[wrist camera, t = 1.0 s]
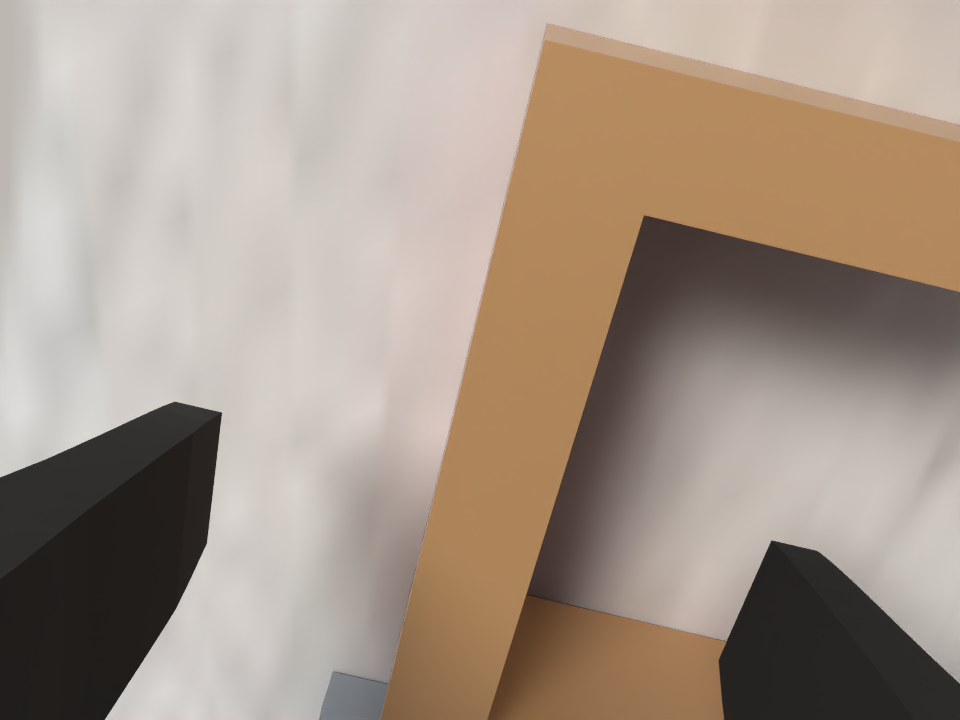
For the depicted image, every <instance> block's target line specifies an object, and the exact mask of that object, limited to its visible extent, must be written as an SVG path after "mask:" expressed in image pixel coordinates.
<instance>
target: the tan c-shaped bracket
mask: <svg viewBox="0 0 960 720" xmlns="http://www.w3.org/2000/svg"><path fill="white" fill-rule="evenodd" d="M644 215H646V216H650V217H654V218H658V219H662V220H666V221H670V222H674V223H679V224H683V225H687V226H691V227H695V228H699V229H703V230H707V231H711V232H716V233H720V234H724V235H728V236H732V237H736V238H740V239H744V240H748V241H753V242H757V243H761V244H765V245H769V246H773V247H777V248H781V249H785V250H790V251H794V252H798V253H802V254H806V255H810V256H814V257H818V258H822V259H827V260H831V261H835V262H839V263H843V264H847V265H851V266H855V267H859V268H864V269H868V270H872V271H876V272H880V273H884V274H888V275H892V276H896V277H901V278H905V279H909V280H913V281H917V282H921V283H925V284H929V285H934V286H938V287H942V288H946V289H950V290H954V291H958V292H960V125H956V124H952V123H948V122H944V121H939V120H935V119H931V118H927V117H923V116H919V115H915V114H911V113H907V112H903V111H899V110H895V109H891V108H887V107H883V106H879V105H875V104H871V103H867V102H863V101H859V100H854V99H850V98H846V97H842V96H838V95H834V94H830V93H826V92H822V91H818V90H814V89H810V88H806V87H802V86H798V85H794V84H790V83H786V82H782V81H778V80H774V79H769V78H765V77H761V76H757V75H753V74H749V73H745V72H741V71H737V70H733V69H729V68H725V67H721V66H717V65H713V64H709V63H705V62H701V61H697V60H693V59H689V58H684V57H680V56H676V55H672V54H668V53H664V52H660V51H656V50H652V49H648V48H644V47H640V46H636V45H632V44H628V43H624V42H620V41H616V40H612V39H608V38H604V37H599V36H595V35H591V34H587V33H583V32H579V31H575V30H571V29H567V28H563V27H559V26H555V25H551V24H547V26H546V30H545V34H544V39H543V43H542V47H541V51H540V55H539V59H538V64H537V68H536V72H535V76H534V80H533V84H532V88H531V93H530V97H529V101H528V105H527V109H526V113H525V118H524V122H523V126H522V130H521V134H520V138H519V142H518V147H517V151H516V155H515V159H514V163H513V167H512V172H511V176H510V180H509V184H508V188H507V192H506V196H505V201H504V205H503V209H502V213H501V217H500V221H499V226H498V230H497V234H496V238H495V242H494V246H493V250H492V255H491V259H490V263H489V267H488V271H487V275H486V280H485V284H484V288H483V292H482V296H481V300H480V304H479V309H478V313H477V317H476V321H475V325H474V329H473V334H472V338H471V342H470V346H469V350H468V354H467V358H466V363H465V367H464V371H463V375H462V379H461V383H460V388H459V392H458V396H457V400H456V404H455V408H454V412H453V417H452V421H451V425H450V429H449V433H448V437H447V442H446V446H445V450H444V454H443V458H442V462H441V466H440V471H439V475H438V479H437V483H436V487H435V491H434V496H433V500H432V504H431V508H430V512H429V516H428V520H427V525H426V529H425V533H424V537H423V541H422V545H421V550H420V554H419V558H418V562H417V566H416V570H415V574H414V579H413V583H412V587H411V591H410V595H409V599H408V604H407V608H406V612H405V616H404V620H403V624H402V628H401V633H400V637H399V641H398V645H397V650H396V654H395V658H394V663H393V667H392V671H391V675H390V680H389V684H388V688H387V692H386V697H385V701H384V705H383V710H382V714H381V718H380V720H724V714H723V706H722V696H721V684H720V672H719V658H720V656H721V653H722V651H723V649H724V647H725V644H726V641H721V640H717V639H713V638H708V637H704V636H700V635H696V634H691V633H687V632H683V631H678V630H674V629H670V628H666V627H661V626H657V625H653V624H649V623H644V622H640V621H636V620H631V619H627V618H623V617H619V616H614V615H610V614H606V613H601V612H597V611H593V610H589V609H584V608H580V607H576V606H571V605H567V604H563V603H559V602H554V601H550V600H546V599H542V598H537V597H533V596H529V595H526V594H527V590H528V587H529V584H530V581H531V578H532V574H533V571H534V568H535V565H536V561H537V558H538V555H539V552H540V549H541V545H542V542H543V539H544V536H545V532H546V529H547V526H548V523H549V520H550V516H551V513H552V510H553V507H554V503H555V500H556V497H557V494H558V491H559V487H560V484H561V481H562V478H563V474H564V471H565V468H566V465H567V462H568V458H569V455H570V452H571V449H572V446H573V442H574V439H575V436H576V433H577V429H578V426H579V423H580V420H581V417H582V413H583V410H584V407H585V404H586V400H587V397H588V394H589V391H590V388H591V384H592V381H593V378H594V375H595V371H596V368H597V365H598V362H599V359H600V355H601V352H602V349H603V346H604V342H605V339H606V336H607V333H608V330H609V326H610V323H611V320H612V317H613V313H614V310H615V307H616V304H617V301H618V297H619V294H620V291H621V288H622V284H623V281H624V278H625V275H626V272H627V268H628V265H629V262H630V259H631V255H632V252H633V249H634V246H635V243H636V239H637V236H638V233H639V230H640V226H641V223H642V220H643V217H644Z"/></svg>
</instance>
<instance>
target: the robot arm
mask: <svg viewBox="0 0 960 720" xmlns="http://www.w3.org/2000/svg"><path fill="white" fill-rule="evenodd" d="M221 416H222V413H221V412H217V411H213V410H208V409H204V408H200V407H195V406H191V405H187V404H182V403H178V402H173V403H170V404H168V405H165V406H163V407H160V408H158V409H156V410H153V411H151V412H149V413H147V414H144V415H142V416H140V417H138V418H136V419H134V420H132V421H129V422H127V423H125V424H123V425H121V426H119V427H117V428H114V429H112V430H110V431H108V432H106V433H104V434H101V435H99V436H97V437H95V438H93V439H90V440H88V441H86V442H84V443H81V444H79V445H77V446H75V447H73V448H70V449H68V450H66V451H64V452H62V453H59V454H57V455H55V456H53V457H50V458H48V459H46V460H43V461H41V462H38V463H36V464H33V465H31V466H28V467H26V468H23V469H21V470H18V471H16V472H13V473H11V474H8V475H6V476H3V477H1V478H0V720H105V718H106V717H107V715H108V714H109V712H110V711H111V709H112V708H113V706H114V705H115V703H116V702H117V700H118V698H119V697H120V695H121V694H122V692H123V691H124V689H125V688H126V686H127V685H128V683H129V681H130V680H131V678H132V677H133V675H134V674H135V672H136V671H137V669H138V668H139V666H140V665H141V663H142V661H143V660H144V658H145V657H146V655H147V654H148V652H149V651H150V649H151V647H152V646H153V644H154V643H155V641H156V640H157V638H158V636H159V635H160V633H161V632H162V630H163V629H164V627H165V625H166V624H167V622H168V621H169V619H170V617H171V616H172V614H173V613H174V611H175V609H176V607H177V605H178V603H179V601H180V599H181V597H182V595H183V593H184V591H185V589H186V587H187V585H188V583H189V581H190V579H191V577H192V574H193V572H194V570H195V568H196V566H197V563H198V561H199V559H200V557H201V555H202V553H203V550H204V548H205V546H206V544H207V537H208V529H209V520H210V511H211V503H212V494H213V485H214V477H215V468H216V459H217V451H218V442H219V433H220V425H221ZM719 672H720V684H721V696H722V706H723V714H724V720H960V684H959V683H958V682H957V681H956V680H955V679H954V678H953V677H952V676H951V675H950V674H949V673H947V672H946V671H945V670H944V669H943V668H942V667H941V666H940V665H939V664H938V663H937V662H936V661H935V660H934V659H933V658H932V657H930V656H929V655H928V654H927V653H926V652H925V651H924V650H923V649H922V648H921V647H920V646H919V645H918V644H917V643H916V642H915V641H914V640H913V639H912V638H911V637H910V636H909V635H908V634H907V633H905V632H904V631H903V630H902V629H901V628H900V627H899V626H898V625H897V624H896V623H895V622H894V621H893V620H892V619H891V618H890V617H889V616H888V615H887V614H886V613H885V612H884V611H883V610H882V609H881V608H880V607H879V606H878V605H877V604H876V603H875V602H874V601H873V600H871V599H870V598H869V597H868V596H867V595H866V594H865V593H864V592H863V591H862V590H861V589H860V588H859V587H858V586H857V585H856V584H855V583H854V582H853V581H852V580H850V579H849V578H848V577H847V576H846V575H845V574H844V573H843V572H842V571H841V570H840V569H838V568H837V567H836V566H835V565H834V564H833V563H832V562H830V561H829V560H828V559H827V558H826V557H824V556H823V555H822V554H821V553H819V552H818V551H815V550H810V549H806V548H802V547H798V546H793V545H789V544H785V543H780V542H776V541H771V543H770V545H769V547H768V550H767V552H766V554H765V556H764V559H763V561H762V563H761V565H760V568H759V570H758V572H757V574H756V577H755V579H754V581H753V583H752V586H751V588H750V590H749V592H748V595H747V597H746V599H745V602H744V604H743V606H742V608H741V611H740V613H739V615H738V617H737V620H736V622H735V624H734V626H733V629H732V631H731V633H730V635H729V638H728V640H727V642H726V644H725V647H724V649H723V651H722V653H721V656H720V658H719Z"/></svg>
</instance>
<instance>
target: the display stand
mask: <svg viewBox="0 0 960 720" xmlns="http://www.w3.org/2000/svg"><path fill="white" fill-rule="evenodd" d="M387 688H388V684H384V683H380V682H375V681H371V680H367V679H362V678H358V677H354V676H349V675H345V674H341V673H336V672H333V674H332V677H331V680H330V683H329V686H328V690H327V693H326V696H325V699H324V702H323V705H322V709H321V714H320V719H319V720H380V718H381V714H382V710H383V705H384V701H385V697H386V692H387Z"/></svg>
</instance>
